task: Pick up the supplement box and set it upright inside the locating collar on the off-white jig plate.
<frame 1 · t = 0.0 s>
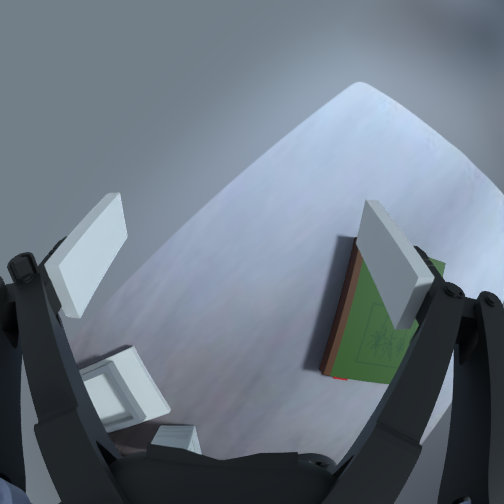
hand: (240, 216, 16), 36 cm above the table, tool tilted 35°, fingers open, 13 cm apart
jig plate: (116, 392, 50), on the table
hardcover book: (381, 316, 52), on the table
supplement box: (181, 439, 50), on the table
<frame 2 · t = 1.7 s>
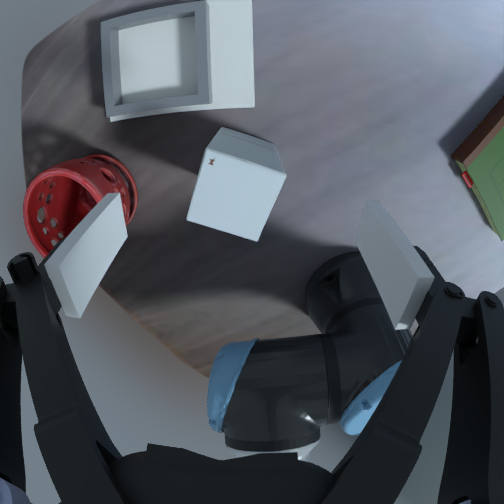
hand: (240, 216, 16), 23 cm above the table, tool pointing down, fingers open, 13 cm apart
plant pot: (105, 187, 39), on the table
jig plate: (177, 57, 30), on the table
supplement box: (240, 160, 37), on the table
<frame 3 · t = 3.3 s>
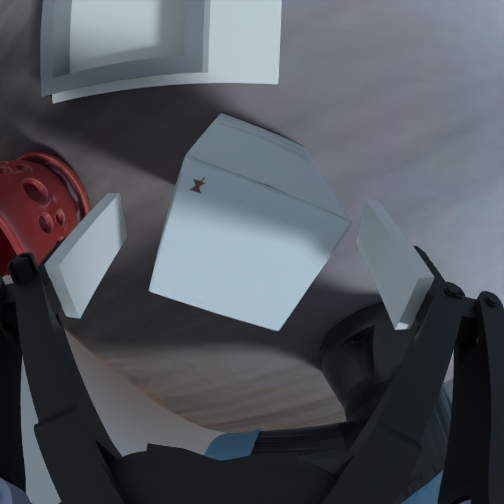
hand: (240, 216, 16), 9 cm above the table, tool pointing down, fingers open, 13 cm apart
plant pot: (51, 198, 25), on the table
jig plate: (158, 4, 16), on the table
supplement box: (246, 168, 24), on the table
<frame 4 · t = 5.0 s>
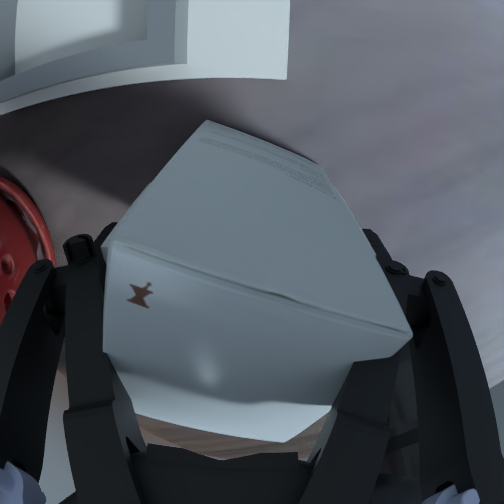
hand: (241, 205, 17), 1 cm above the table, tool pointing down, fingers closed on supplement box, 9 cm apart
plant pot: (11, 227, 19), on the table
supplement box: (242, 194, 18), on the table, touching gripper
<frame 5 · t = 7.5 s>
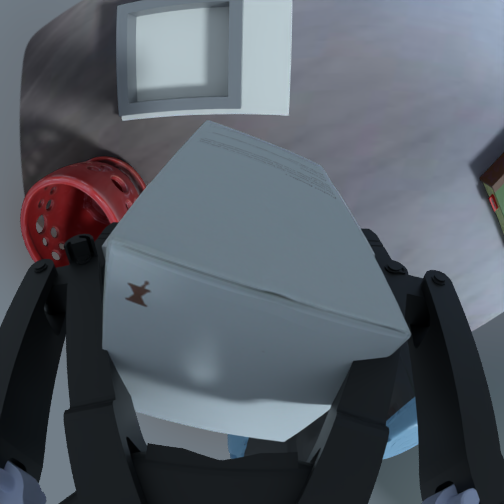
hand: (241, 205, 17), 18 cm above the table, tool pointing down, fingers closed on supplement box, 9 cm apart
plant pot: (112, 193, 35), on the table
jig plate: (203, 52, 26), on the table
supplement box: (243, 194, 18), point 16 cm above the table, touching gripper
when the fingers open (5 cm above the table, at t = 10.4 s): supplement box drops 2 cm, resting on jig plate.
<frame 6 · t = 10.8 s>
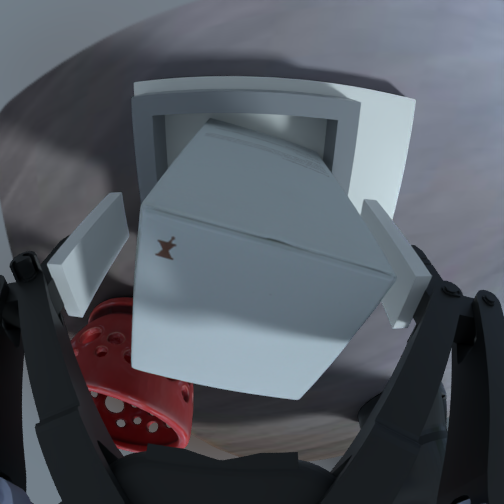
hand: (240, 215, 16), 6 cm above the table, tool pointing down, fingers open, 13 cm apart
plant pot: (143, 326, 30), on the table
jig plate: (273, 176, 21), on the table
supplement box: (248, 183, 20), point 1 cm above the table, touching jig plate
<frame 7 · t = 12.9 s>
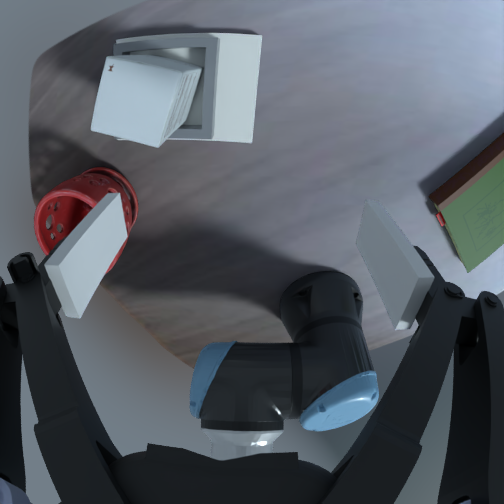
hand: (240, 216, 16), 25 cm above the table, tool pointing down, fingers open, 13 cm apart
plant pot: (108, 195, 42), on the table
jig plate: (185, 85, 33), on the table
hardcover book: (489, 194, 41), on the table
supplement box: (169, 86, 32), point 1 cm above the table, touching jig plate
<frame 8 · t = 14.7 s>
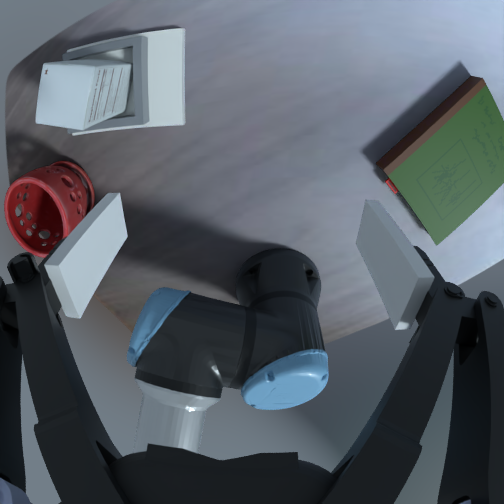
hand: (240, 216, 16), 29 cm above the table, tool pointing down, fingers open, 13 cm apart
plant pot: (70, 187, 45), on the table
jig plate: (124, 81, 35), on the table
hardcover book: (450, 158, 41), on the table
supplement box: (110, 84, 34), point 1 cm above the table, touching jig plate
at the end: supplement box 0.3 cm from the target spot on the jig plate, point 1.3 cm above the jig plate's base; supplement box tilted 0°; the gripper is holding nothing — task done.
